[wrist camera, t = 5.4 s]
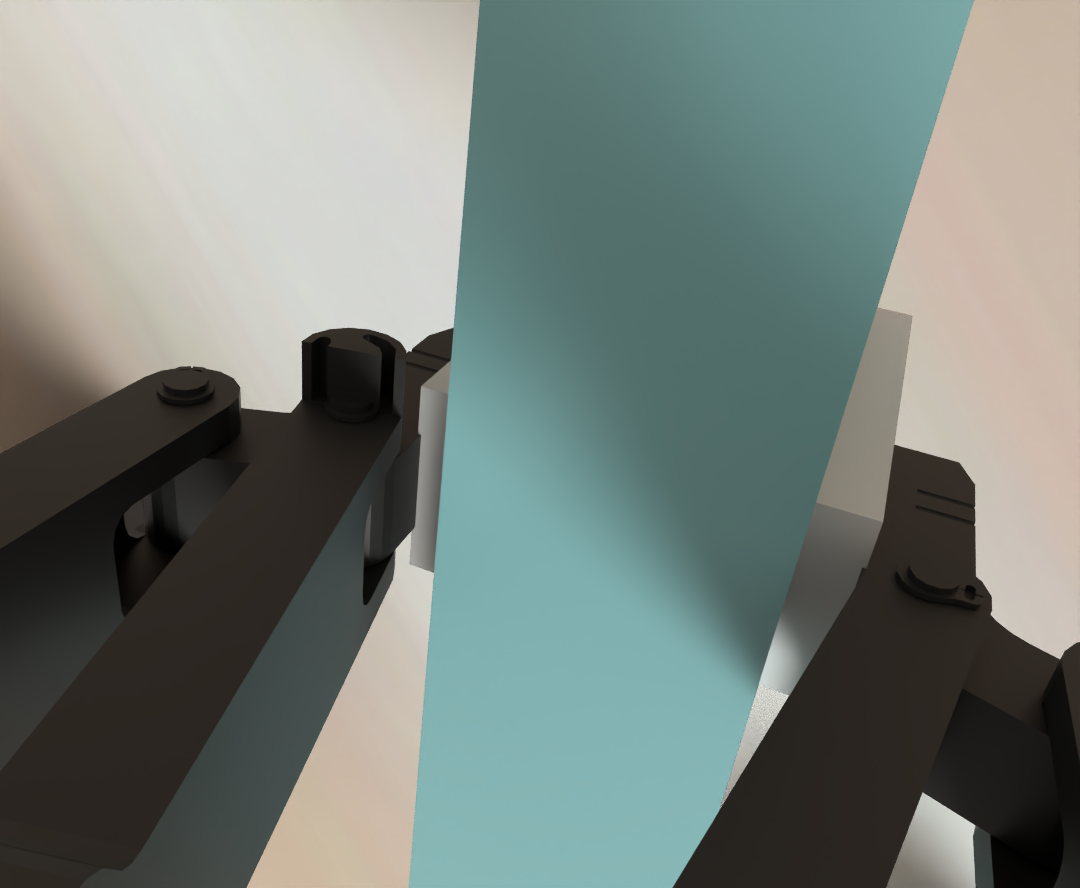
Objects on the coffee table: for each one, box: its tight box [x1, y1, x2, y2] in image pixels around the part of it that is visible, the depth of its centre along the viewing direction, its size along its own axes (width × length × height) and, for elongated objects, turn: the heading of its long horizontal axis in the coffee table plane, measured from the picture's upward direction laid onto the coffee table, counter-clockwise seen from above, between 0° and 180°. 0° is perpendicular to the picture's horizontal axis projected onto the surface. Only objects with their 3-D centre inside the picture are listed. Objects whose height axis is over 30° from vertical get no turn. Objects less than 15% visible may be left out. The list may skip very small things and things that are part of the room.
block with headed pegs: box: [409, 0, 974, 888], centre depth 16 cm, size 4×16×12 cm, turn 172°
